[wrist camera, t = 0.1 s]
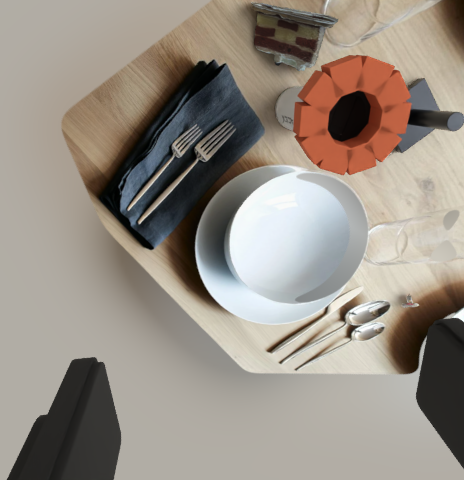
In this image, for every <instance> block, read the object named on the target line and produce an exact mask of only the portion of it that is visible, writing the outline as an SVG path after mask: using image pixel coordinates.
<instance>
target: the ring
mask: <svg viewBox="0 0 464 480" xmlns="http://www.w3.org/2000/svg"><path fill="white" fill-rule="evenodd" d="M394 67H395V66H393V65H390V64H387V63H385V62H382V61H379V60H377V59H374V58H371V57H369V56H361V55H356V56H353V55H349V56H346V57H344V58H341V59H338V60H336V61H333V62H330V63H328V64H325V65H322V66H321V69H322V72H321V71H317V70H316V71H315V72H314V73H313V75H312V76H311V78H310V79H309V80H308V82H307V83H306V84H305V86H304V87H303V89H302V90H301V91H300V93H299V94H298V95H297V96H298V97H299V98H300V99H301V100H302V101H304V102H295V108H294V123H293V131H294V132H295V133H296V134H297V135H296V136H295V138H296V140H297V141H298V143H299V144H300V146H301V147H302V149H303V151H304V152H305V154H306V155H307V157H308V158H309V159H310V160H311V161H312V162H313V163H314V164H316V165H317V166H318V167H319V168H320V169H324V170H327V171H331V172H334V173H337V174H341V175H344V174H345V172H347V173H348V174H349V175H351V174H354V173H357V172H360V171H363V170H366V169H369V168H372V167H375V166H376V159H377V160H378V161H380V162H382V161H383V160H384V159H385V158H386V157H387V156H388V155H389V154H390V152H391V151H392V150H393V149H394V148H395V147H396V146H397V145H398V144H399V142H400V141H401V140H402V139H401V138H400V137H399V136H398V135H397V134H405V132H406V128H407V123H408V118H409V114H410V109H411V104H412V103H409V102H406V100H408V99H409V98H410V97H411V95H410V93H409V91H408V89H407V87H406V84H405V82H404V80H403V78H402V76H401V74H400V71H398V70H393V69H394ZM358 90H359V91H362V92H364V94H365V96H366V97H367V99H368V101H369V103H370V105H371V109H370V115H369V121H368V124H367V125H366V126H365V128H364V129H363V130H362V131H361V132H360V134H359V135H358V136H357V137H354V138H351V139H348V140H346V141H343V142H341V141H338V140H334V139H333V138H332V137H331V135H330V133H329V132H328V130H327V129H328V120H329V112H330V110H331V109H332V108H333V107H334V105H335V104H336V103H337V101H338V100H339V99H340V98H341V97H342V96H344V95H347V94H350V93H352V92H355V91H358Z"/></svg>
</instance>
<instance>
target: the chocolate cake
mask: <svg viewBox="0 0 464 480" xmlns="http://www.w3.org/2000/svg"><path fill="white" fill-rule="evenodd" d="M251 4H252V5H253V10H255V11H258V15H257V26H256V29H255V39H254V45H255V46H256V48H257V50H260V51H262V52H265V53H268V54H269V53H272V54H274V55H275V57H274V61H275V64H276V65H280V64H281V62H283V63H285V64H287V65H290V66H292V67H295V68H296V69H297V70H298V71H300V70H303V71H304V70H305V67H312V66H314V65H315V63H316V60H317V58H318V53H319V50H320V47H321V44H322V41H323V36H324V33H325V29H326V28H327V27H328V28H331V27H333V25H334V24H335V23H336V22H338V19H337V20H336V18H334V17H331V16H328V15H324V14H317V13H311V12H306V11H299V10H295V9H288V8H281V7H277V6H271V5H268V4H263V3H260V4H259V3H253V2H252V3H251Z"/></svg>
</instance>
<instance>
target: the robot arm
mask: <svg viewBox="0 0 464 480" xmlns="http://www.w3.org/2000/svg"><path fill="white" fill-rule="evenodd" d="M416 399H417V403H418V405H419V407H420V409H421V410H422V411H423V413H424V414H425V416H426V417H427V419H428V420H429V421H430V423H431V424H432V425H433V427H434V428H435V429H436V431H437V432H438V434H439V435H440V436H441V438H442V439H443V440H444V442H445V444H446V445H447V446H448V448H449V449H450V450H451V452H452V453H453V455H454V456H455V457H456V459H457V460H458V462H459V463H460V464H461V466H462V467H463V468H464V322H463V321H462V320H460V319H458V318H450V319H441V320H436V321H435V322H434V323H433V326H430V327H429V330H428V335H427V340H426V345H425V350H424V355H423V361H422V366H421V371H420V376H419V382H418V388H417V392H416ZM120 445H121V431H120V427H119V423H118V419H117V414H116V410H115V406H114V402H113V398H112V394H111V390H110V385H109V381H108V377H107V373H106V369H105V365H104V363H103V362H98V361H97V359H96V358H95V357H92V358H82V359H74V360H72V362H71V363H70V366H69V368H68V370H67V372H66V375H65V377H64V379H63V381H62V383H61V386H60V388H59V390H58V392H57V394H56V397H55V399H54V401H53V403H52V406H51V408H50V410H49V412H48V414H47V415H41V416H39V417H38V418H37V420H36V421H35V423H34V425H33V427H32V429H31V431H30V433H29V435H28V437H27V439H26V441H25V443H24V445H23V448H22V450H21V452H20V454H19V456H18V458H17V460H16V462H15V464H14V466H13V468H12V470H11V472H10V474H9V477H8V479H7V480H113V479H114V475H115V470H116V465H117V460H118V455H119V450H120Z"/></svg>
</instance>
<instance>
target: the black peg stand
mask: <svg viewBox="0 0 464 480" xmlns="http://www.w3.org/2000/svg"><path fill="white" fill-rule="evenodd" d="M407 89H408V91H409V93H410V95H411V97H410V98H409V99H408V100H406V102H409V103H412V104H411V109H410V114H409V118H408V123H407V128H406V132H405V134H397V135H398V136H399V137H400V138H401V139H402V140H401V141H400V142H399V144H398V145H397V146H396V147H395V148H396V150H397V152H400V153H403V152H404V151H406V150H407V149H408V148H410V147H411V146H412V145H414V144H415V143H416V142H418V141H419V140H421V139H422V138H423V137H425V136H426V135H427V134H429V133H430V132H432V131H433V130H434V129H441V130H448V131H457V130H458V129H460V128H461V127H462V125H463V123H464V116H463V114H462V113H460V112H449V111H440V110H439V108H438V106H437V104H436V101H435V99H434V97H433V95H432V93H431V91H430V89H429V87H428V85H427V82H426V80H425V78H421V79H418V80H416V81H415V82H414V83H413V84H411V85H410V86H409V87H407Z"/></svg>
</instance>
